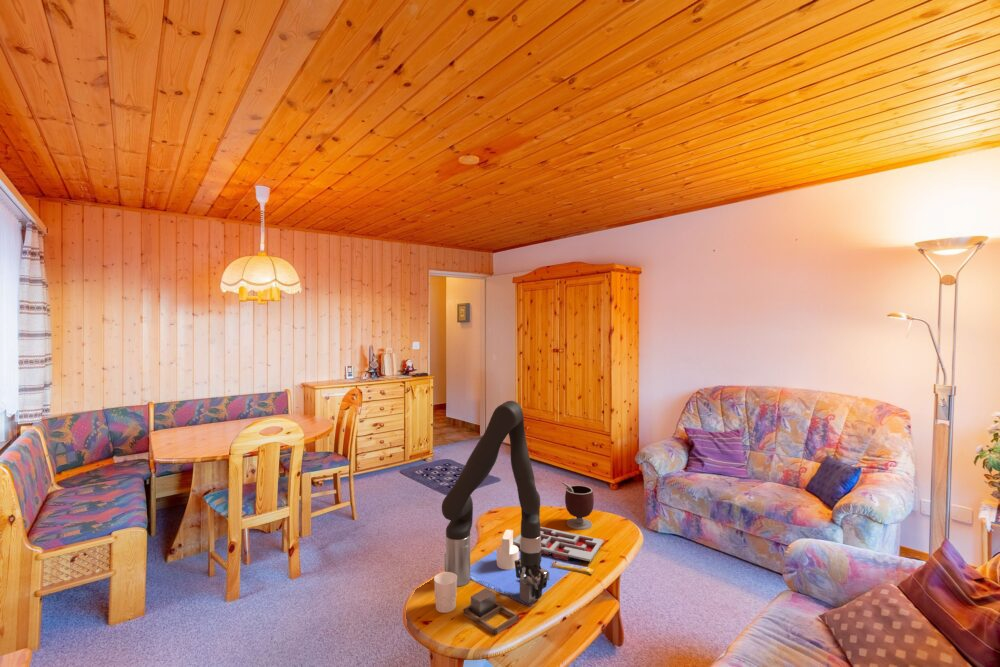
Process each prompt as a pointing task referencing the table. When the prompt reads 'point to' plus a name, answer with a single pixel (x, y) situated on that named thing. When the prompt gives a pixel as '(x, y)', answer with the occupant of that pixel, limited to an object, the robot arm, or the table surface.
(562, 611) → the table surface
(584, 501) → the mate gourd
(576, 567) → the candy bar
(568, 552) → the maze game
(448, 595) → the white cup
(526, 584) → the block
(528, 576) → the button housing
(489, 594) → the seated billet
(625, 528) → the table surface
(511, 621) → the frame
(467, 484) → the robot arm
